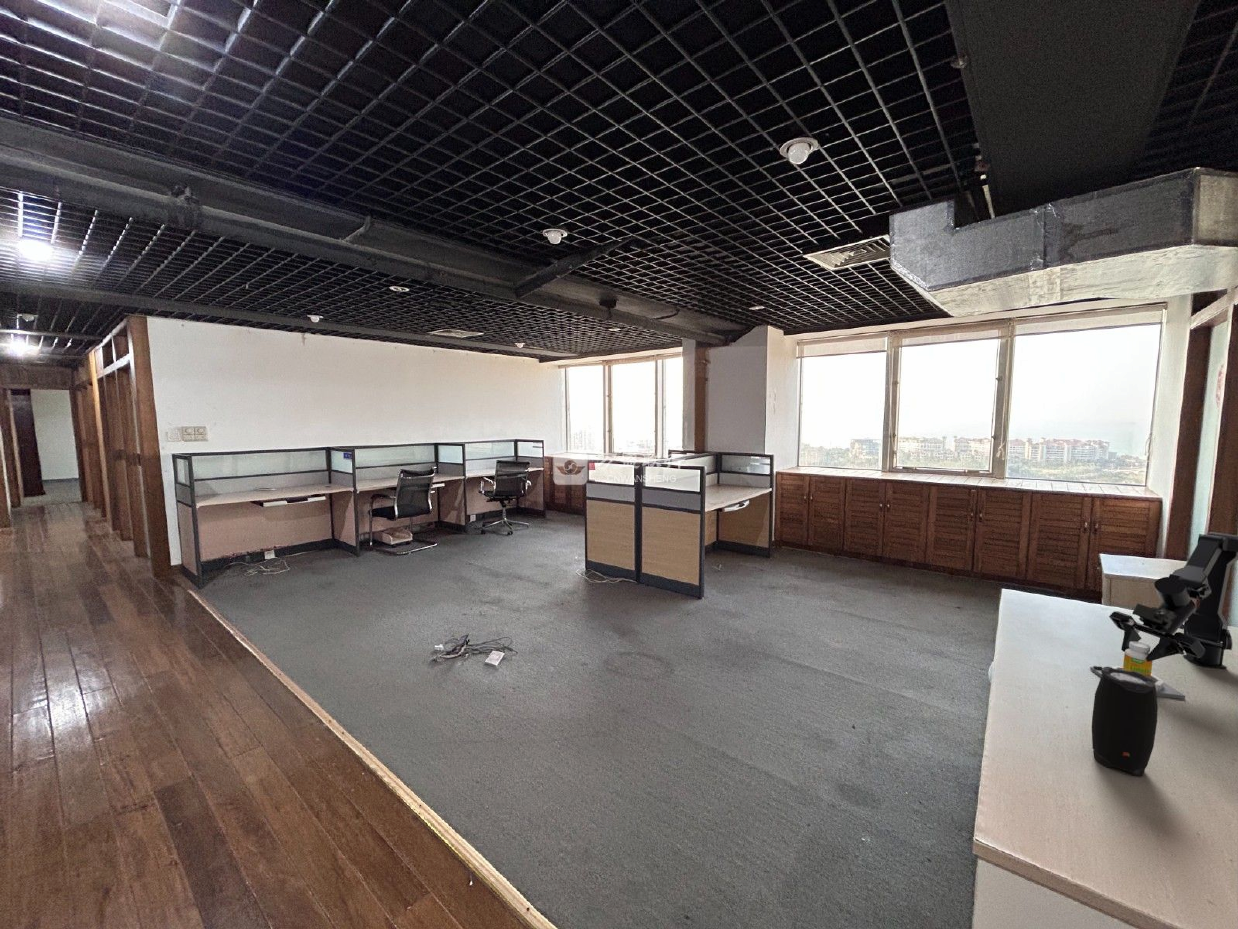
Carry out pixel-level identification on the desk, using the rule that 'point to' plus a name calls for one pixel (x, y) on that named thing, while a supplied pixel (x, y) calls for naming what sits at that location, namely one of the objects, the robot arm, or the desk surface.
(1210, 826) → the desk surface
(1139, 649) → the supplement bottle
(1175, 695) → the charging dock
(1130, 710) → the portable speaker
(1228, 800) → the desk surface
